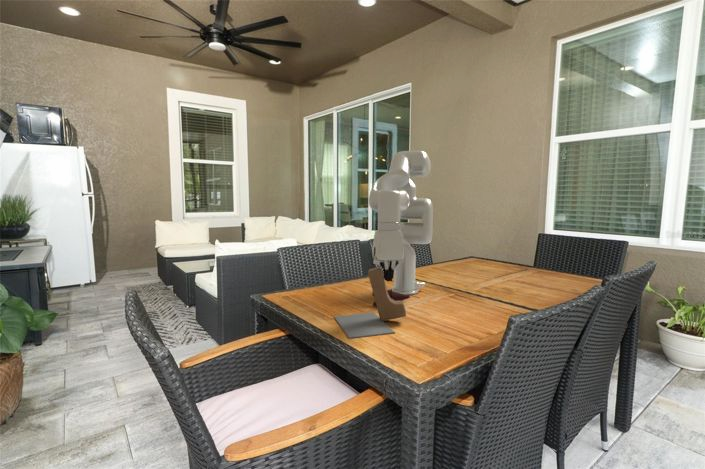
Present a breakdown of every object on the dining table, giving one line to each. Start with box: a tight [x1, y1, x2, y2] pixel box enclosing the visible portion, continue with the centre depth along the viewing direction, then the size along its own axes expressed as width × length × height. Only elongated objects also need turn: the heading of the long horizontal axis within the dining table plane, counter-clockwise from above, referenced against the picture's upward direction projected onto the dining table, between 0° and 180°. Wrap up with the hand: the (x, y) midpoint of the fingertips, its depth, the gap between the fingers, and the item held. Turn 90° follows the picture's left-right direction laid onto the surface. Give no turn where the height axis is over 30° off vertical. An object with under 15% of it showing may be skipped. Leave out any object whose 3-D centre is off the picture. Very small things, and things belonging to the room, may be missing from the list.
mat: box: [333, 311, 396, 339], centre depth 120 cm, size 15×20×1 cm
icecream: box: [371, 288, 411, 307], centre depth 141 cm, size 7×7×15 cm
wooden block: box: [367, 266, 407, 322], centre depth 123 cm, size 9×4×18 cm, turn 83°
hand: (388, 280), depth 121 cm, fingers closed
